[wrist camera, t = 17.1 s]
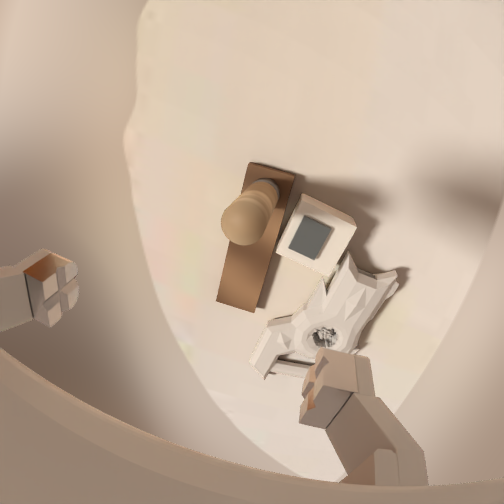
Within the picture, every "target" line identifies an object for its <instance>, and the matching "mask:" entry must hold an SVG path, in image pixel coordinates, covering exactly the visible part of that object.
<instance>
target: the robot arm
mask: <svg viewBox="0 0 504 504" xmlns="http://www.w3.org/2000/svg"><path fill="white" fill-rule="evenodd" d="M77 275H78V270H77V265H76V264H75V263H74V262H72V261H70V260H68V259H66V258H64V257H62V256H59V255H57V254H55V253H53V252H50V251H48V250H46V249H40V250H38V251H37V252H35V253H34V254H32V255H30V256H29V257H27V258H26V259H24V260H22V261H21V262H19V263H18V264H16V265H15V266H13V267H12V266H5V267H0V332H2V331H5V330H7V329H10V328H12V327H15V326H17V325H20V324H22V323H25V322H28V321H30V320H33V319H35V320H37V321H39V322H41V323H42V324H44V325H46V326H48V327H50V328H51V327H52V326H53V325H54V324H55V323H56V322H57V321H58V320H59V319H60V318H61V317H62V312H63V311H67V310H69V309H71V308H72V307H73V306H74V305H75V303H76V301H77V299H78V295H79V285H78V283H77V281H76V279H75V277H76V276H77ZM302 396H303V397H304V401H303V403H302V404H301V407H300V417H299V423H300V424H305V425H309V426H313V427H318V428H322V429H326V430H325V431H326V433H327V435H328V437H329V439H330V441H331V443H332V445H333V447H334V449H335V451H336V453H337V455H338V457H339V459H340V461H341V463H342V464H343V466H344V468H345V470H346V472H347V474H348V476H346V477H345V478H344V479H343V480H341V481H340V482H339V483H337V482H329V481H321V480H314V479H307V478H301V477H295V476H290V475H285V474H280V473H275V472H270V471H265V470H261V469H257V468H253V467H248V466H245V465H241V464H237V463H233V462H230V461H226V460H222V459H219V458H216V457H213V456H209V455H206V454H203V453H200V452H197V451H194V450H191V449H188V448H185V447H182V446H180V445H177V444H174V443H172V442H169V441H167V440H164V439H161V438H159V437H156V436H154V435H151V434H149V433H147V432H144V431H142V430H139V429H137V428H135V427H133V426H131V425H128V424H126V423H124V422H122V421H120V420H118V419H116V418H114V417H111V416H110V415H107V414H105V413H103V412H101V411H100V410H98V409H96V408H94V407H92V406H90V405H88V404H86V403H84V402H83V401H81V400H79V399H77V398H76V397H74V396H72V395H70V394H69V393H67V392H65V391H63V390H62V389H60V388H58V387H57V386H55V385H53V384H52V383H50V382H49V381H47V380H46V379H44V378H42V377H41V376H39V375H38V374H36V373H35V372H33V371H32V370H31V369H29V368H28V367H26V366H25V365H23V364H22V363H20V362H19V361H18V360H16V359H15V358H13V357H12V356H10V355H9V354H8V353H7V352H5V351H4V350H3V349H1V348H0V504H504V477H502V478H497V479H491V480H484V481H477V482H471V483H470V482H469V483H461V484H449V485H434V486H429V484H428V476H427V470H426V463H425V457H424V451H423V450H422V449H421V447H420V446H419V445H418V444H417V442H416V441H415V440H414V439H413V438H412V436H411V435H410V434H409V433H408V431H406V429H405V428H404V427H403V425H402V424H401V423H400V422H399V421H398V419H397V418H396V417H395V416H394V414H393V413H392V412H391V411H390V410H389V408H388V407H387V406H386V405H385V404H384V402H383V401H382V400H381V399H380V398H379V397H375V391H374V384H373V377H372V371H371V364H370V359H369V358H368V357H365V356H360V355H356V354H349V353H345V352H341V351H337V350H333V349H329V348H325V347H321V348H320V349H319V350H318V352H317V354H316V358H315V364H314V365H312V366H310V368H309V370H308V372H307V374H306V377H305V380H304V383H303V388H302Z"/></svg>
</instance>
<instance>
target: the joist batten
mask: <svg viewBox="0 0 504 504" xmlns="http://www.w3.org/2000/svg"><path fill="white" fill-rule="evenodd" d="M259 178H270V179H272V180H273V181H275V182H276V183H277V185H278V186H279V189H280V197H279V200H278V202H277V204H276V207H275V209H274V211H273V213H272V216H271V218H270V220H269V222H268V225H267V227H266V229H265V232H264V234H263V236H262V237H261V238H260V239H259V240H258V241H257V242H255V243H253V244H251V245H238V244H235V243H233V242H232V241H230V242H229V246H228V250H227V255H226V259H225V264H224V268H223V272H222V277H221V281H220V286H219V290H218V295H217V299H216V301H217V302H220V303H223V304H226V305H230V306H233V307H236V308H239V309H242V310H246V311H249V312H252V313H254V312H255V309H256V305H257V302H258V299H259V296H260V292H261V289H262V286H263V283H264V279H265V276H266V273H267V269H268V266H269V263H270V259H271V256H272V253H273V249H274V246H275V243H276V239H277V236H278V233H279V229H280V226H281V222H282V219H283V216H284V212H285V209H286V205H287V202H288V198H289V195H290V191H291V188H292V185H293V181H294V178H295V175H294V174H291V173H288V172H284V171H281V170H277V169H273V168H270V167H266V166H263V165H259V164H255V163H251V162H250V163H248V167H247V171H246V175H245V179H244V183H243V187H242V191H241V194H242V193H243V192H244V191H245V190H246V189H247V188H248V187H249V186H250V185H251V184H252V183H253V182H254V181H255V180H257V179H259Z"/></svg>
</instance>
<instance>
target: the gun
mask: <svg viewBox="0 0 504 504" xmlns="http://www.w3.org/2000/svg"><path fill="white" fill-rule="evenodd" d="M397 276H398V275H397V273H396V270H393V271H390V272H386V273H379V274H371V273H368V272H366V271H363V270H361V269H359V268H357V267H356V265H355V263H354V261H353V259H352V257H351V255H350V253H349V251H347V253H346V255H345V257H344V259H343V261H342V262H341V264H340V266H339V268H338V270H337V272H336V274H335V276H334V277H333V279H332V281H331V283H330V285H329V287H328V288H327V290H326V286H325V283H324V279H323V276H322V278H321V280H320V282H319V283H318V285H317V287H316V289H315V290H314V292H313V294H312V295H311V297H310V299H309V301H308V302H307V303H305V304H303V305H302V306H301V307H300V308H299V309H298V310H297V311H296V312H295V313H294V314H293V315H292V316H288V317H283V318H279V319H274V320H269V321H268V322H267V324H266V326H265V328H264V331H263V333H262V335H261V337H260V339H259V341H258V343H257V345H256V347H255V349H254V351H253V352H252V354H251V357H250V360H249V364H250V365H251V366H252V367H253V368H254V369H255V370H256V371H257V372H258V374H259V375H260V376H261V377H262V378H263V379H264V380H265V378H266V377H267V375H268V374H269V372H274V373H279V374H285V375H290V376H295V377H301V378H305V377H306V374H307V372H308V370H309V368H310V366H309V365H303V364H297V363H292V362H286V361H281V360H277V359H278V357H279V355H284V354H289V353H294V352H296V353H298V354H300V355H303V356H305V357H308V358H312V359H315V358H316V354H317V352H318V350H319V349H320V348H321V347H325V348H329V349H333V350H337V351H341V352H345V353H349V354H355V353H356V352H357V351H359V349H357V348H356V347H357V346H358V345H359V344H357V343H358V340H359V337H360V334H361V332H362V330H363V329H364V327H365V326H366V324H367V323H368V322H369V321H370V320H372V319H373V317H374V316H375V314H376V313H377V311H378V310H379V308H380V307H381V305H382V304H383V302H384V301H385V300H386V299H387V298H389V297H390V296H392V295H393V294H394V292H395V291H396V289H397V288H398V286H399V283H398V282H397V281H396V278H397ZM332 329H334V331H333V330H332Z"/></svg>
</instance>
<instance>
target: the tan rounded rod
mask: <svg viewBox="0 0 504 504" xmlns="http://www.w3.org/2000/svg"><path fill="white" fill-rule="evenodd" d="M279 197H280V189H279V186H278V185H277V183H276V182H275V181H273V180H272V179H270V178H259V179H257V180H255V181H254V182H253V183H252V184H251V185H250V186H249V187H248V188H247V189H246V190H245V191H244V192H243V193H242V194H241V195H240V196H239V197H238V198H237V199H236V200H235V201H234V202H233V203H232V204H231V205H230V206H229V207H228V208H227V209H226V210H225V211H224V213H223V215H222V218H221V227H222V230H223V232H224V234H225V236H226V237H227V238H228V239H229V240H230V241H232V242H233V243H235V244H238V245H251V244H253V243H255V242H257V241H258V240H259V239H260V238H261V237H262V236H263V234H264V232H265V229H266V227H267V225H268V222H269V220H270V218H271V216H272V213H273V211H274V209H275V207H276V204H277V202H278V200H279Z"/></svg>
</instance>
